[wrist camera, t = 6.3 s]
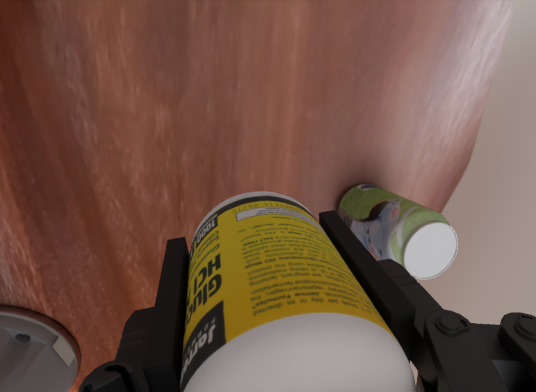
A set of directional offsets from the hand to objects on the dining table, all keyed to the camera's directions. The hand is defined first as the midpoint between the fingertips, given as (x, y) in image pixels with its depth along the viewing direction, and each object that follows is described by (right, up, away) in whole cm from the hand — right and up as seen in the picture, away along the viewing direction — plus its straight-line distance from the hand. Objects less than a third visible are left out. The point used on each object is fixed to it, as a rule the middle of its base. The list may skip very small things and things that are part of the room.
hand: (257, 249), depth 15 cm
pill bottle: (0, 0, 0) cm, 1 cm away
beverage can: (+11, +2, +21) cm, 24 cm away
